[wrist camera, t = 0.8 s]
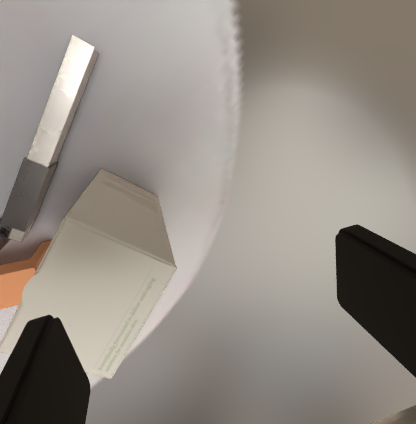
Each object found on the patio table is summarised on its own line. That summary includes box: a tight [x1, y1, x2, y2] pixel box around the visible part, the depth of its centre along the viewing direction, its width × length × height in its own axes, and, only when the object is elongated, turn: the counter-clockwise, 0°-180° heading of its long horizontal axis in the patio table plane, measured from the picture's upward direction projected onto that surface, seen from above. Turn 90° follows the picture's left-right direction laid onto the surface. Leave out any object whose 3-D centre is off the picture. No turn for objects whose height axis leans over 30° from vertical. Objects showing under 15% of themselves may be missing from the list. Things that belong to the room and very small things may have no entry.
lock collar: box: [0, 240, 52, 309], centre depth 26 cm, size 3×7×5 cm, turn 98°
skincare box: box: [0, 168, 177, 378], centre depth 22 cm, size 8×7×16 cm
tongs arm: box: [0, 35, 98, 242], centre depth 25 cm, size 17×2×3 cm, turn 152°
